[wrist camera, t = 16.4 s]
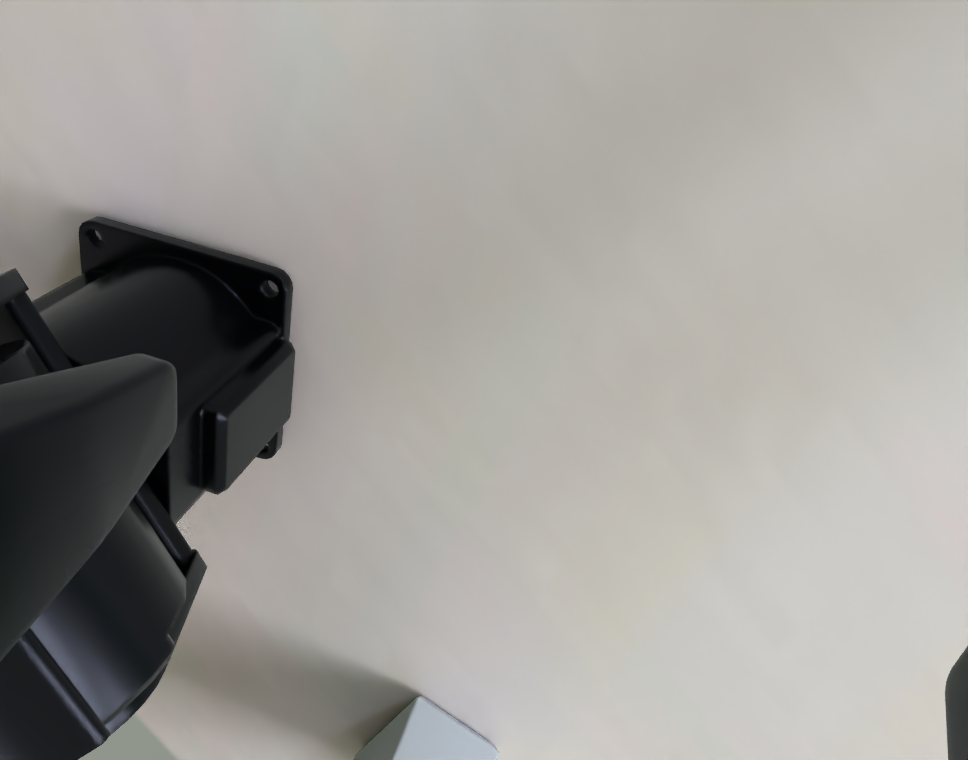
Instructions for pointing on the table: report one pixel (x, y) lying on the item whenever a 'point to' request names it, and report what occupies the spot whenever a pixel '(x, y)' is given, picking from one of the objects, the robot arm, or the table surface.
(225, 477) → the robot arm
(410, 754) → the vintage mobile phone
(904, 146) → the table surface
